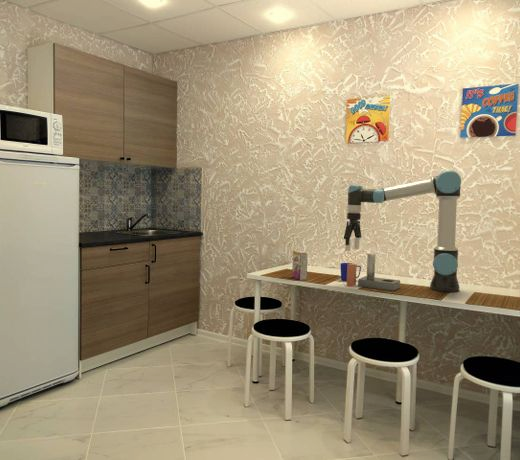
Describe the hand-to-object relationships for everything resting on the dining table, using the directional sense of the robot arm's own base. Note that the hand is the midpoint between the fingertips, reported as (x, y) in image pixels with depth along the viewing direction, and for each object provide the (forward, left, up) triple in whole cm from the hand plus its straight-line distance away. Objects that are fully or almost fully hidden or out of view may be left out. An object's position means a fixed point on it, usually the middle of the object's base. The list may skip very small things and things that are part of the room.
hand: (352, 250), depth 261 cm
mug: (+5, -13, -20) cm, 24 cm away
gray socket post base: (-15, -5, -20) cm, 25 cm away
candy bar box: (+32, +1, -20) cm, 38 cm away
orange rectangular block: (-1, +1, -20) cm, 20 cm away
